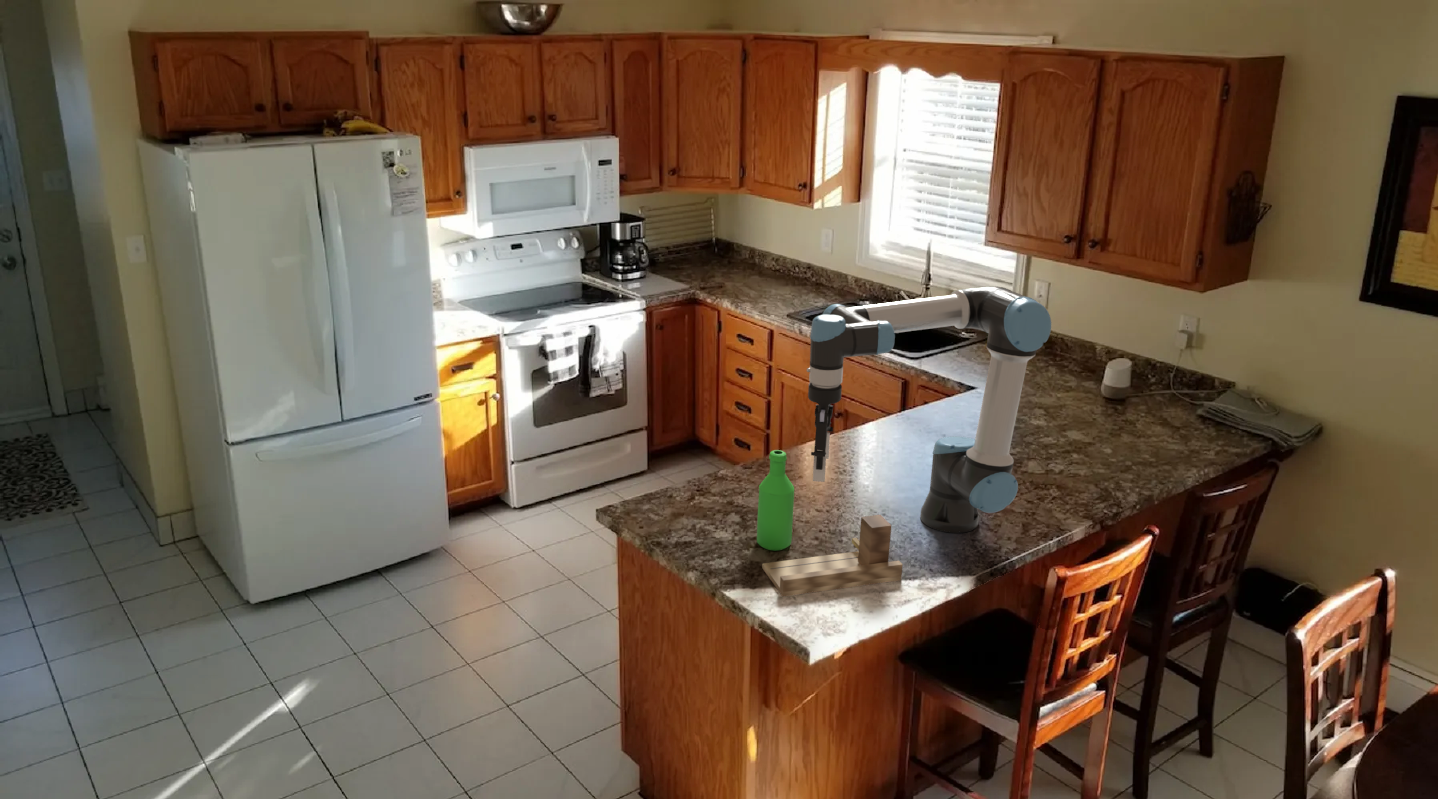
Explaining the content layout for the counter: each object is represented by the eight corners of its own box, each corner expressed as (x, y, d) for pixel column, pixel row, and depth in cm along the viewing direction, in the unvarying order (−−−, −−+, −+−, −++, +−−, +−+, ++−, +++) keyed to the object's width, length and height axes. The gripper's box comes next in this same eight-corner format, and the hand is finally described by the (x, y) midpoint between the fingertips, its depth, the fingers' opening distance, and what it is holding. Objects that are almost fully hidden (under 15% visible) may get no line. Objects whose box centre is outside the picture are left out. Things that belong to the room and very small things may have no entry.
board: (875, 553, 268) (877, 538, 266) (901, 580, 255) (902, 564, 254) (762, 567, 259) (762, 552, 258) (782, 596, 246) (783, 580, 245)
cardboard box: (862, 544, 269) (866, 500, 265) (887, 571, 256) (891, 525, 252) (844, 547, 267) (847, 502, 263) (868, 573, 255) (872, 527, 251)
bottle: (751, 538, 273) (754, 447, 265) (782, 534, 276) (787, 443, 268) (764, 554, 266) (768, 461, 257) (796, 549, 268) (802, 457, 260)
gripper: (813, 365, 256) (809, 447, 263) (804, 400, 233) (800, 489, 240) (844, 367, 255) (839, 450, 262) (838, 402, 232) (833, 492, 239)
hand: (820, 469), depth 251 cm, fingers open, 13 cm apart
